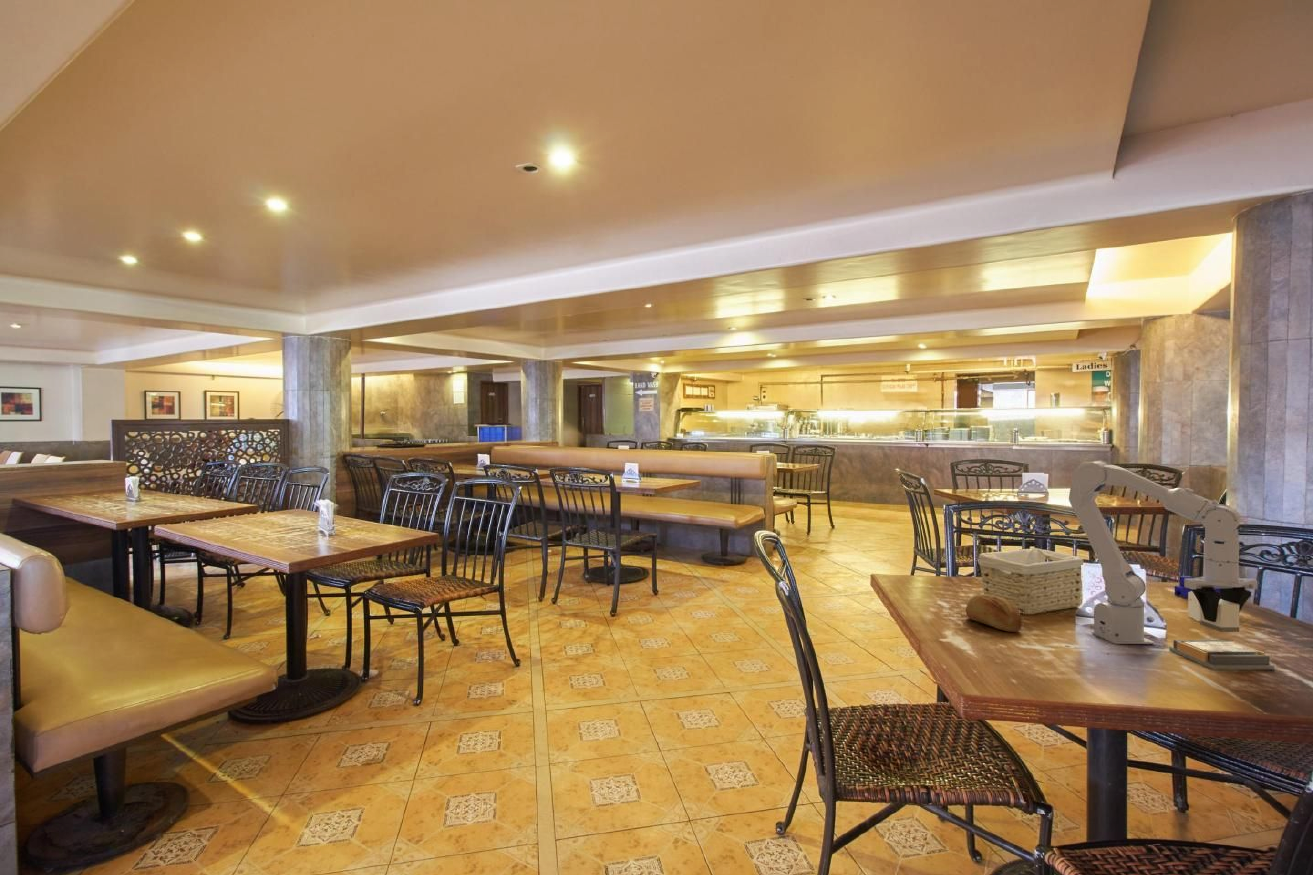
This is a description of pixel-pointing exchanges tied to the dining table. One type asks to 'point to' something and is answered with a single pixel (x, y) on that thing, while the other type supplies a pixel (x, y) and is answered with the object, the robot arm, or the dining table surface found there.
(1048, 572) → the storage basket
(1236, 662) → the rail panel
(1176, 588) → the cable clip
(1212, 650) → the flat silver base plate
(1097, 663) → the dining table surface
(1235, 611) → the block
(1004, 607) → the bread roll
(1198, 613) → the white angled block
